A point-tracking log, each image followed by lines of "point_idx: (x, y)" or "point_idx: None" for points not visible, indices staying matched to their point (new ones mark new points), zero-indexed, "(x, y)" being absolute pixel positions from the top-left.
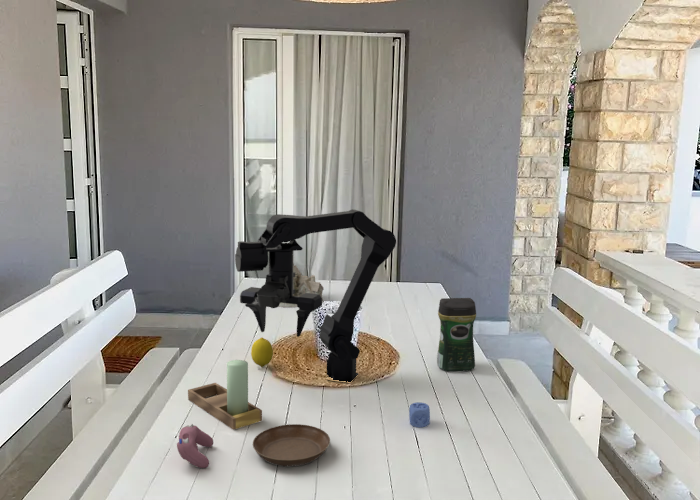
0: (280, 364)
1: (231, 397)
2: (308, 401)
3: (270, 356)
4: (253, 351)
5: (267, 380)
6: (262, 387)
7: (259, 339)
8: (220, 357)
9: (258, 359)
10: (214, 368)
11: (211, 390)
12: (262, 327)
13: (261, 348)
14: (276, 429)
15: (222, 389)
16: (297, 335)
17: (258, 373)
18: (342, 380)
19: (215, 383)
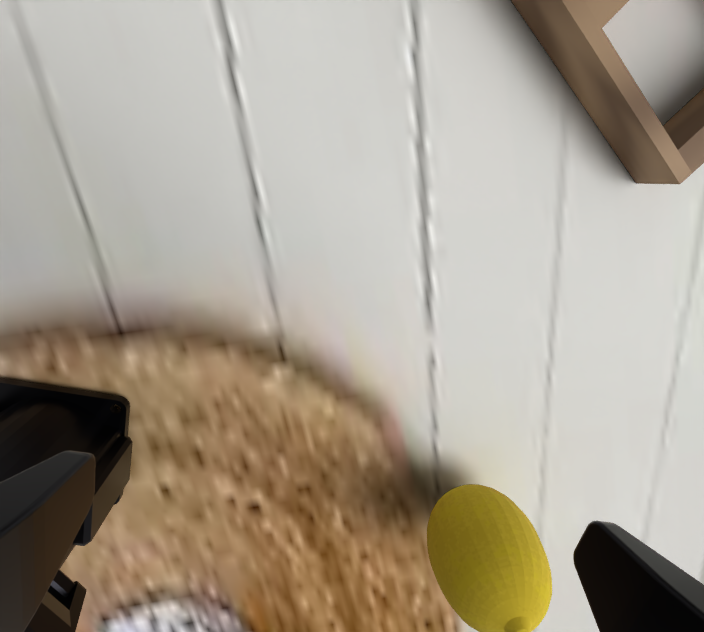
0: (386, 532)
1: None
2: (132, 113)
3: (435, 527)
4: (531, 532)
5: (410, 362)
6: (419, 276)
7: (531, 618)
8: None
9: (488, 495)
10: (652, 451)
11: (678, 130)
12: (644, 573)
13: (497, 549)
14: None
15: (635, 88)
16: (70, 459)
17: (463, 430)
18: (29, 391)
19: (679, 169)
